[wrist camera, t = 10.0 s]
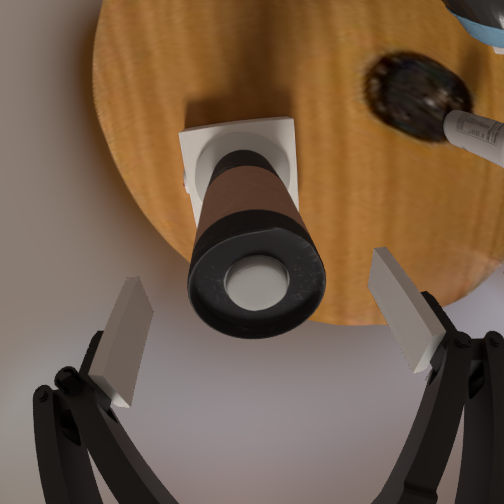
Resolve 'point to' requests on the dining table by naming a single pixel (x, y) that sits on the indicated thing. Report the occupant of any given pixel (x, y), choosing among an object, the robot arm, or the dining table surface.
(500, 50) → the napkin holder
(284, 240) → the travel mug
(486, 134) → the energy drink can
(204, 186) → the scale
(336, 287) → the dining table surface
